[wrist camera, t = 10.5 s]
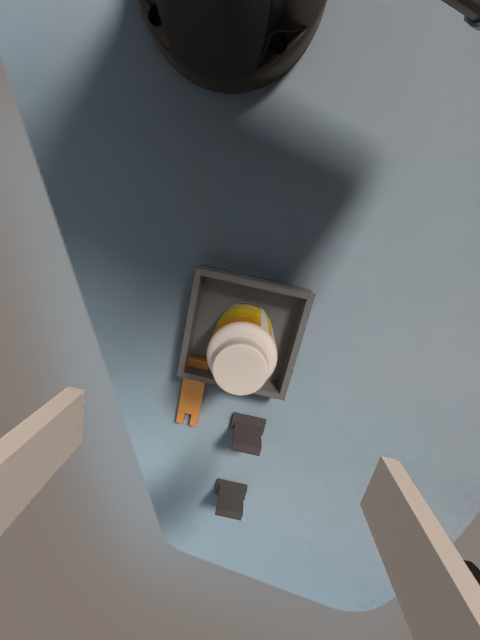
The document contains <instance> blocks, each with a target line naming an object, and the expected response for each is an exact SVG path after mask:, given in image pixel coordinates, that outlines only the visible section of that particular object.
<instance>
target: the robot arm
mask: <svg viewBox="0 0 480 640" xmlns="http://www.w3.org/2000/svg"><path fill="white" fill-rule="evenodd" d="M137 1H138V4H139V7H140V9H141V12H142V14H143V17H144V19H145V21H146V23H147V25H148V27H149V29H150V31H151V33H152V35H153V37H154V39H155V41H156V43H157V45H158V47H159V48H160V50H161V52H162V53H163V54H164V56H165V57H166V59H167V60H168V61H169V62H170V63H171V65H172V66H173V67H174V68H175V69H176V70H177V71H178V72H179V73H181V74H182V75H183V76H184V77H186V78H187V79H189V80H190V81H192V82H193V83H195V84H197V85H199V86H201V87H203V88H206V89H209V90H212V91H216V92H222V93H242V92H248V91H251V90H255V89H258V88H261V87H263V86H265V85H267V84H269V83H271V82H273V81H274V80H276V79H277V78H279V77H280V76H281V75H283V74H284V73H285V72H286V71H287V70H289V69H290V68H291V67H292V66H293V65H294V64H295V63H296V61H297V60H298V59H299V58H300V57H301V55H302V54H303V53H304V51H305V50H306V48H307V47H308V45H309V44H310V42H311V40H312V38H313V37H314V35H315V33H316V30H317V28H318V26H319V23H320V21H321V18H322V15H323V12H324V9H325V5H326V2H327V0H137ZM441 1H443V2H445V3H446V4H448V5H449V6H451V7H452V8H454V9H456V10H457V11H459V12H460V13H462V14H463V15H465V16H464V21H465V22H466V23H467V24H468V25H469V26H471V27H473V28H475V29H476V30H480V0H441ZM85 393H86V391H85V390H83V389H78V388H74V387H67V388H66V389H65V390H63V391H62V392H60V393H59V394H58V395H56V396H55V397H54V398H53V399H51V400H50V401H49V402H47V403H46V404H45V405H43V406H42V407H41V408H40V409H38V410H37V411H36V412H34V413H33V414H32V415H30V416H29V417H28V418H27V419H25V420H24V421H23V422H21V423H20V424H19V425H18V426H16V427H15V428H14V429H12V430H11V431H10V432H8V433H7V434H6V435H4V436H3V437H2V438H1V439H0V536H1V535H2V534H3V533H4V531H5V530H6V529H7V528H8V527H9V526H10V525H11V523H12V522H13V521H14V520H15V519H16V518H17V517H18V515H19V514H20V513H21V512H22V511H23V510H24V508H25V507H26V506H27V505H28V504H29V503H30V502H31V500H32V499H33V498H34V497H35V496H36V495H37V494H38V492H39V491H40V490H41V489H42V488H43V487H44V485H45V484H46V483H47V482H48V481H49V480H50V479H51V477H52V476H53V475H54V474H55V473H56V472H57V471H58V469H59V468H60V467H61V466H62V465H63V464H64V462H65V461H66V460H67V459H68V458H69V457H70V455H71V454H72V453H73V452H74V451H75V450H76V449H77V447H78V446H79V445H80V444H81V443H82V435H83V421H84V407H85ZM360 505H361V508H362V510H363V513H364V515H365V518H366V520H367V523H368V525H369V528H370V530H371V533H372V536H373V538H374V541H375V543H376V546H377V548H378V551H379V553H380V556H381V558H382V561H383V563H384V566H385V568H386V571H387V574H388V576H389V579H390V581H391V584H392V586H393V589H394V591H395V594H396V596H397V599H398V601H399V604H400V606H401V609H402V611H403V614H404V617H405V619H406V622H407V624H408V627H409V629H410V632H411V634H412V637H413V639H414V640H480V570H479V569H478V568H477V567H476V566H475V565H474V564H473V563H472V562H470V561H465V560H463V559H462V558H461V556H460V554H459V553H458V551H457V550H456V548H455V547H454V545H453V544H452V542H451V541H450V539H449V537H448V536H447V534H446V533H445V531H444V530H443V528H442V527H441V525H440V524H439V522H438V521H437V519H436V517H435V516H434V514H433V513H432V511H431V510H430V508H429V507H428V505H427V504H426V502H425V501H424V499H423V497H422V496H421V494H420V493H419V491H418V490H417V488H416V487H415V485H414V484H413V482H412V480H411V479H410V477H409V476H408V474H407V473H406V471H405V470H404V468H403V467H402V465H401V464H400V462H399V460H396V459H392V458H388V457H383V456H381V457H380V459H379V462H378V464H377V466H376V469H375V471H374V473H373V476H372V478H371V480H370V483H369V485H368V487H367V489H366V492H365V494H364V496H363V499H362V501H361V503H360Z"/></svg>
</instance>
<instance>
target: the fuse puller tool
mask: <svg viewBox="0 0 480 640" xmlns="http://www.w3.org/2000/svg"><path fill="white" fill-rule="evenodd" d="M187 366H191V367H195V368H200V369H205V370H208V367H209V366H208V362H207V358H204V357H199V356H195V355H190V356H189V359H188V364H187ZM205 384H206V383H204V382H199V381H195V380H190V379H186V378H183V383H182V389H181V395H180V401H179V407H178V413H177V419H176V422H177V423H182V424H183V422H184V419H185V414H191V420H190V425H191V426H197V423H198V418H199V413H200V408H201V403H202V399H203V394H204V389H205Z"/></svg>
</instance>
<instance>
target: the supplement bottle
mask: <svg viewBox="0 0 480 640" xmlns="http://www.w3.org/2000/svg"><path fill="white" fill-rule="evenodd" d="M207 362H208V366H209V368H210V370H211V372H212V374H213V377H214V379H215V381H216V383H217V384H218V385H219V387H220V388H221V389H223V390H224V391H226V392H228V393H230V394H233V395H239V396H243V395H249V394H252V393H254V392H256V391H257V390H259V389H260V388H261V387H262V386H263V385H264V383H265V382H266V380H267V379H268V378H269V377H270V376H271V375H272V373H273V372H274V369H275V367H276V363H277V348H276V343H275V337H274V333H273V328H272V324H271V320H270V318H269V316H268V314H267V313H266V312H265V311H264V310H263V309H262V308H261V307H259V306H257V305H255V304H252V303H246V302H243V303H237V304H234V305H232V306H230V307H229V308H227V309H226V310H225V311H224V312H223V314H222V315H221V317H220V319H219V321H218V324H217V326H216V328H215V330H214V333H213V335H212V337H211V340H210V342H209V345H208V348H207Z"/></svg>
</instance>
